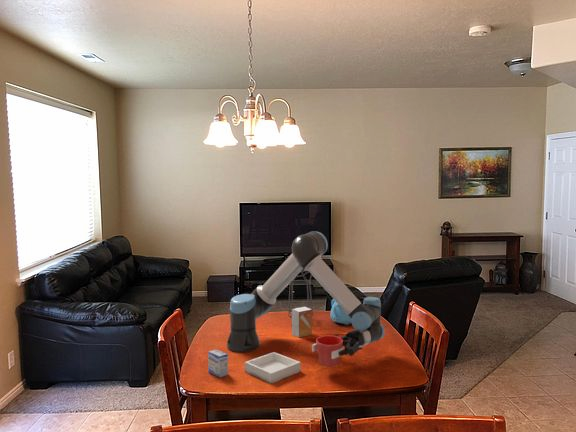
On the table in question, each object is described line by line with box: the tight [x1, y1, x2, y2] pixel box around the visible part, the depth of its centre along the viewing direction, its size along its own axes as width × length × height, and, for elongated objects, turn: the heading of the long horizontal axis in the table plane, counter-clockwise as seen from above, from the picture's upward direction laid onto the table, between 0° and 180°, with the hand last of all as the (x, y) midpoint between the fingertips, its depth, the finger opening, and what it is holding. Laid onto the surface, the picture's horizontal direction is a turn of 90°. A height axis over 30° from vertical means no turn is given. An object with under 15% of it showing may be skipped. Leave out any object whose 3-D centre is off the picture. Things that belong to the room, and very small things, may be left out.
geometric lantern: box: [287, 269, 314, 319], centre depth 263 cm, size 16×16×35 cm
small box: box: [291, 306, 313, 338], centre depth 243 cm, size 8×6×13 cm
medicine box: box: [207, 349, 229, 378], centre depth 197 cm, size 8×4×9 cm, turn 45°
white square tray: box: [244, 351, 302, 384], centre depth 199 cm, size 16×16×4 cm
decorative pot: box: [329, 298, 352, 326], centre depth 264 cm, size 16×16×14 cm
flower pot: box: [315, 335, 343, 368], centre depth 196 cm, size 11×11×10 cm
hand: (322, 351), depth 192 cm, fingers closed on flower pot, 10 cm apart
